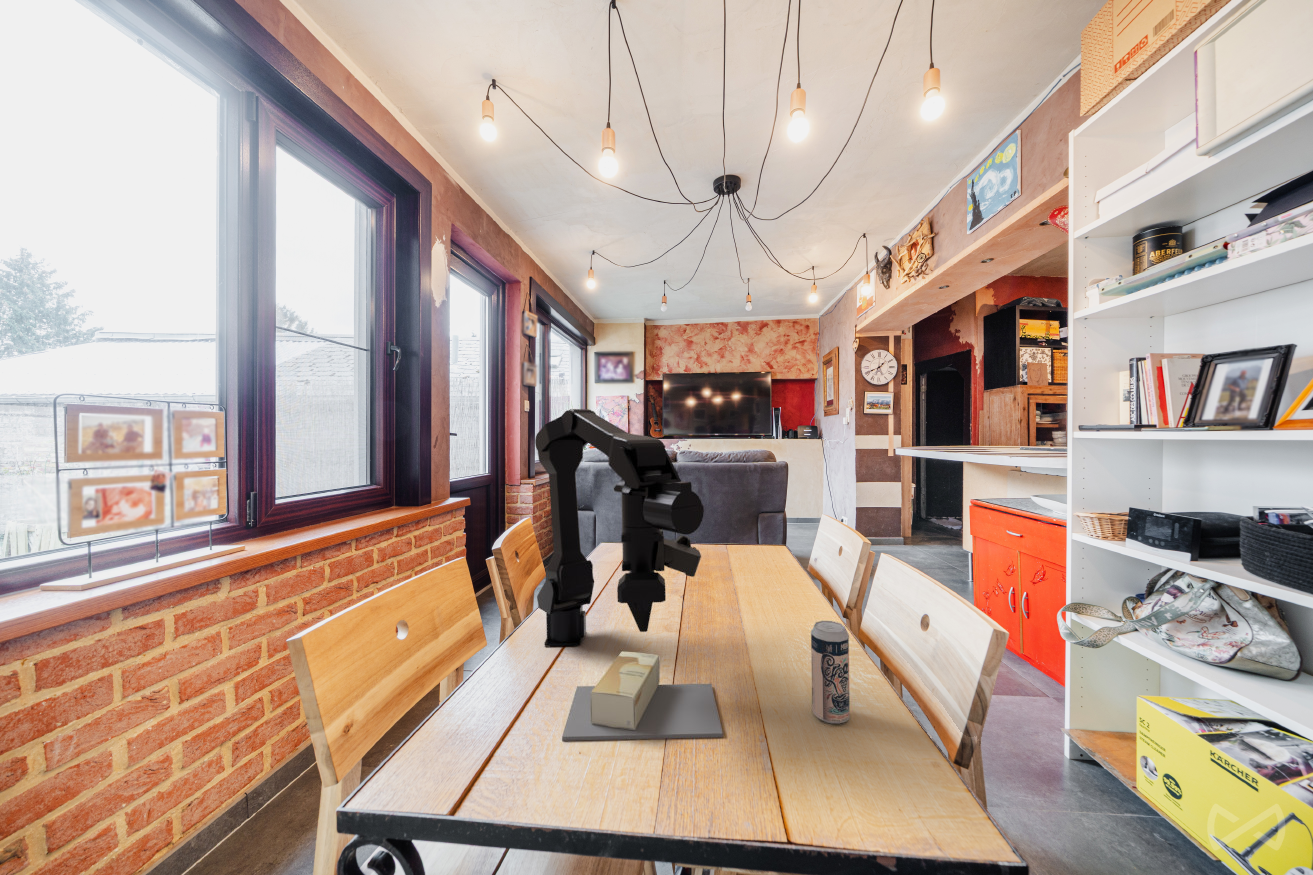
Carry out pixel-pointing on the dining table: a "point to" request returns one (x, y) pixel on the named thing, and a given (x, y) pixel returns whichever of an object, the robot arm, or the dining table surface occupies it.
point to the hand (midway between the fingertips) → (643, 630)
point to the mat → (652, 716)
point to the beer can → (830, 672)
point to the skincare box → (625, 690)
